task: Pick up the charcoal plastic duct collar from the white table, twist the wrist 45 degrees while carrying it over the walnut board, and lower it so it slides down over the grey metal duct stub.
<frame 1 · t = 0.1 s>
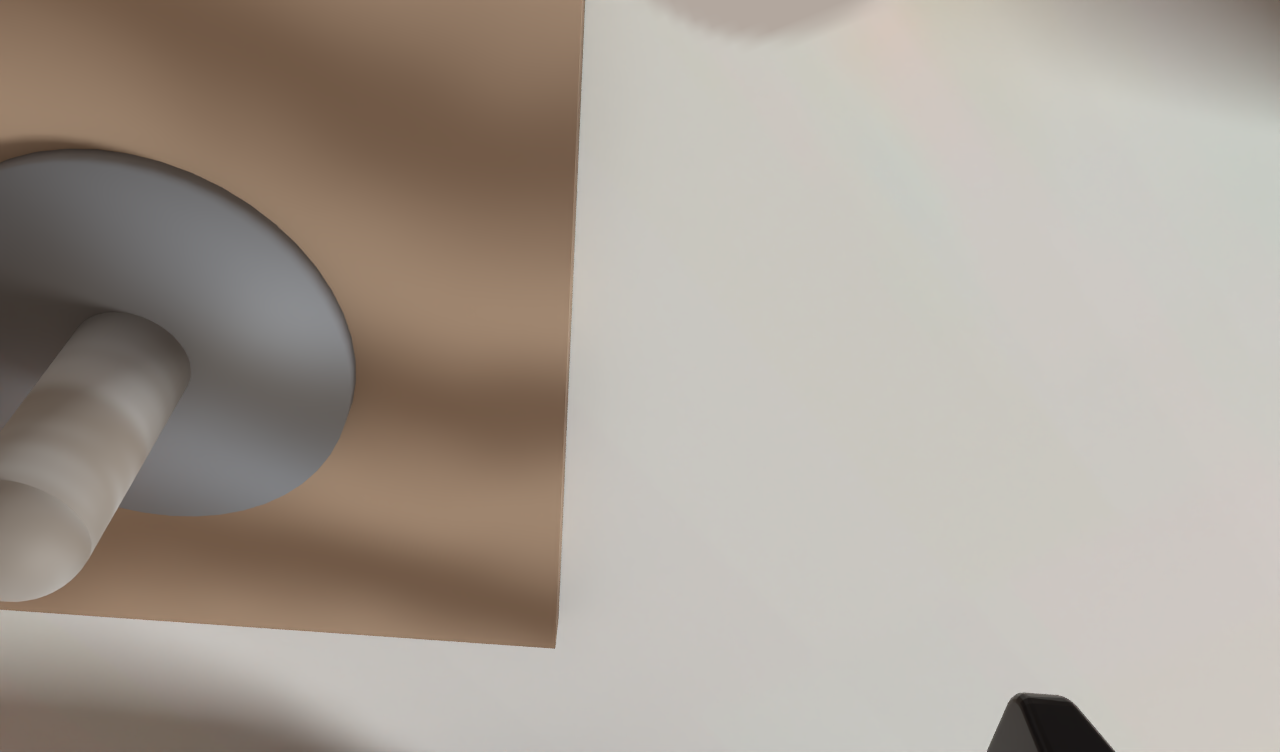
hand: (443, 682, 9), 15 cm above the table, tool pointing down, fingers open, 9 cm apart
duct base: (160, 316, 25), on the table
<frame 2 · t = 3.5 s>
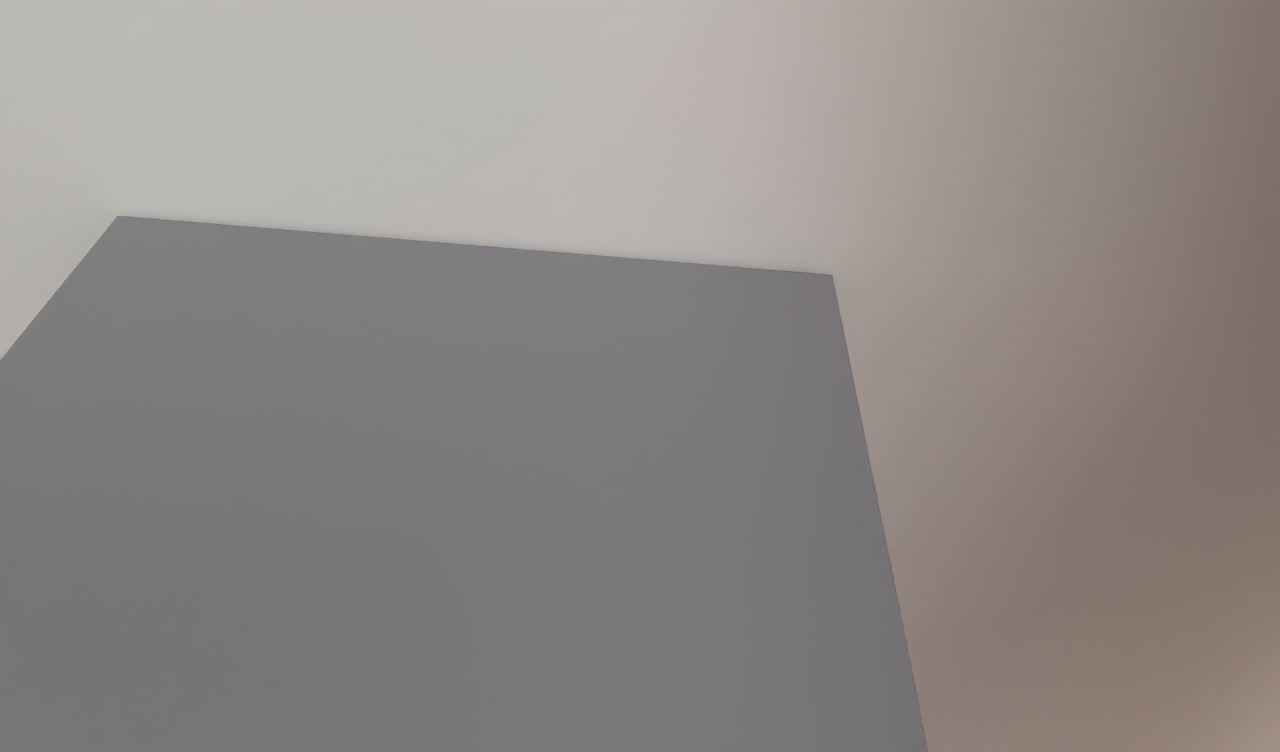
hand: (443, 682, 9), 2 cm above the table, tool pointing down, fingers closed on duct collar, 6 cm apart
duct collar: (480, 505, 11), on the table, touching gripper
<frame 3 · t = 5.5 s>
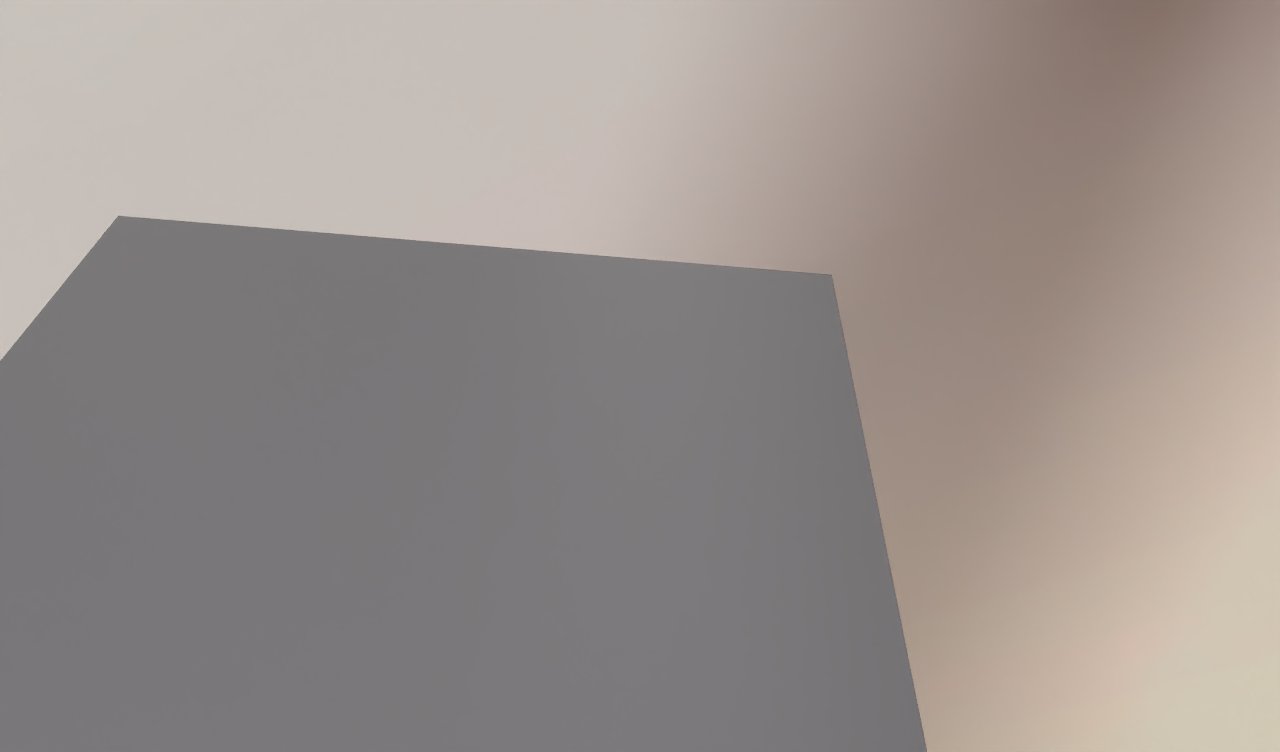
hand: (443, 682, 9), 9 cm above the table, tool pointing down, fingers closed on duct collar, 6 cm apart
duct collar: (480, 504, 11), point 7 cm above the table, touching gripper
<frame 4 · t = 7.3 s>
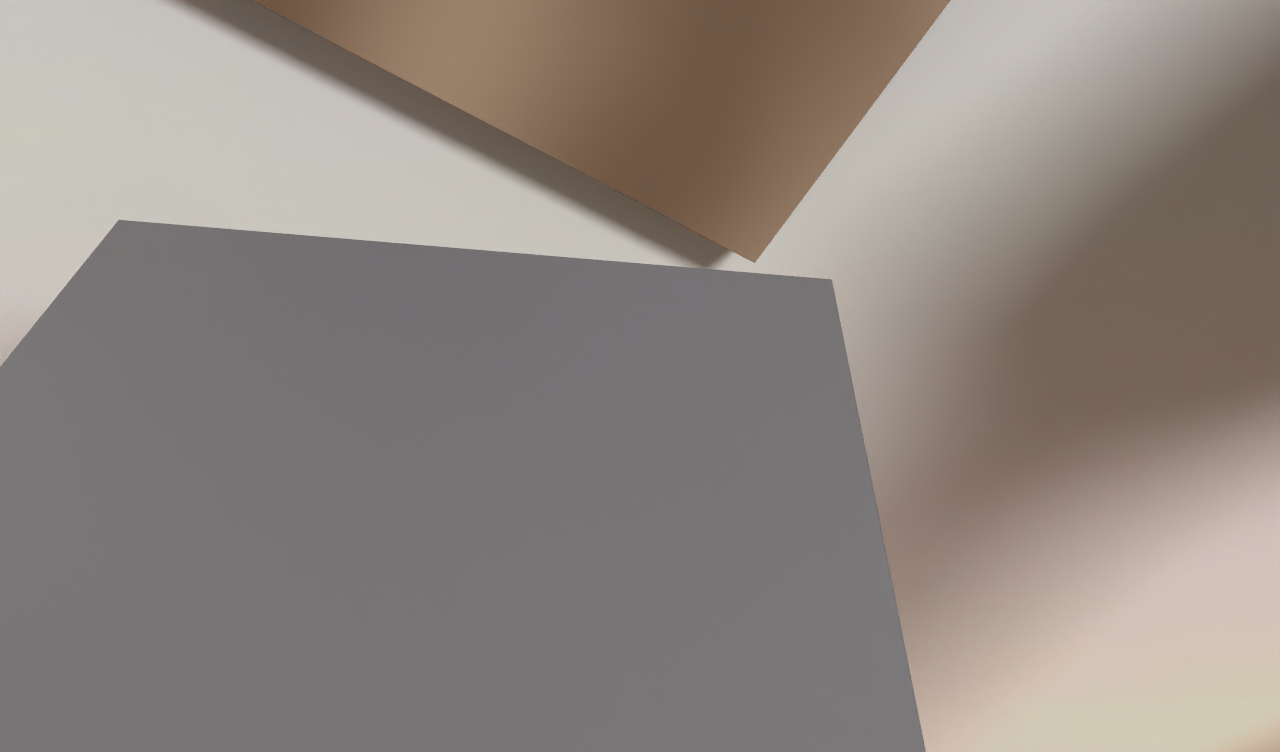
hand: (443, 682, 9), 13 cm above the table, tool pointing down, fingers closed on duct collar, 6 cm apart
duct collar: (480, 508, 11), point 11 cm above the table, touching gripper
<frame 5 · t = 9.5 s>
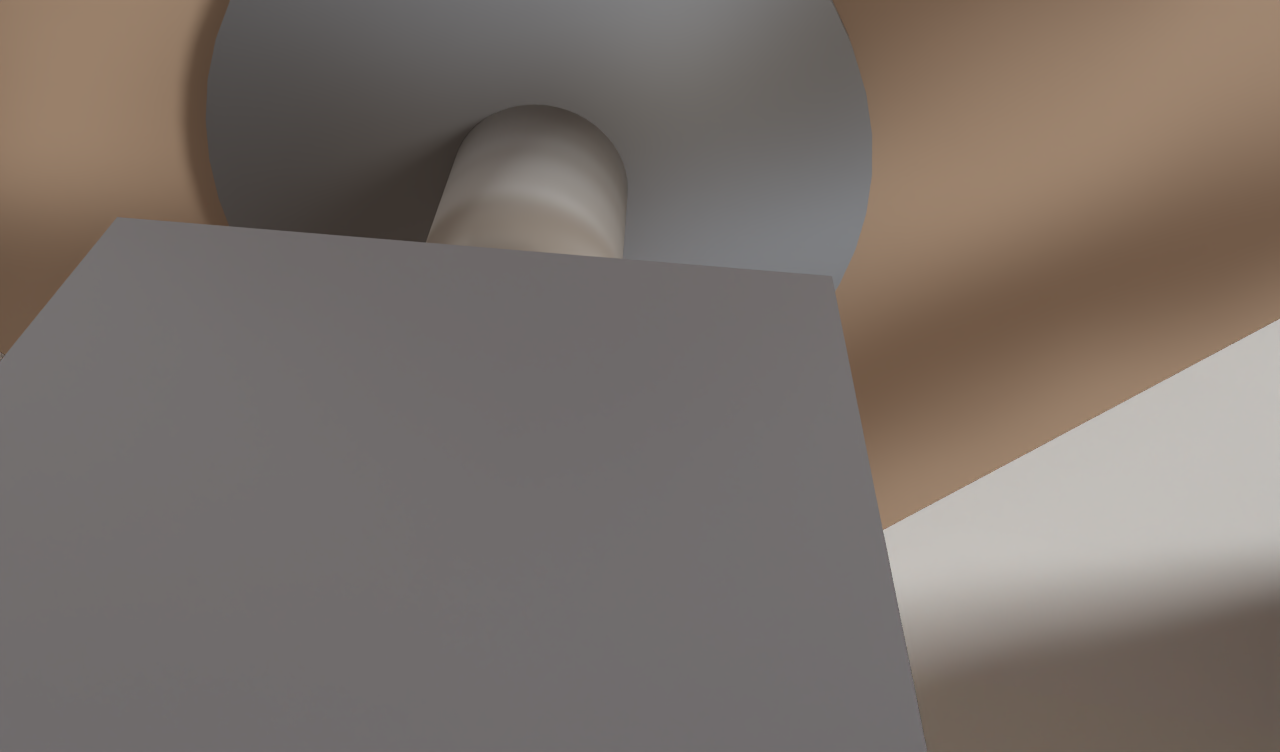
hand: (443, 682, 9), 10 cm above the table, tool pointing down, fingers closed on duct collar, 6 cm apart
duct collar: (479, 506, 11), point 8 cm above the table, touching gripper
duct base: (550, 136, 17), on the table
when the fingers open (4 cm above the table, at t = 11.4 s): duct collar stays where it is, resting on duct base.
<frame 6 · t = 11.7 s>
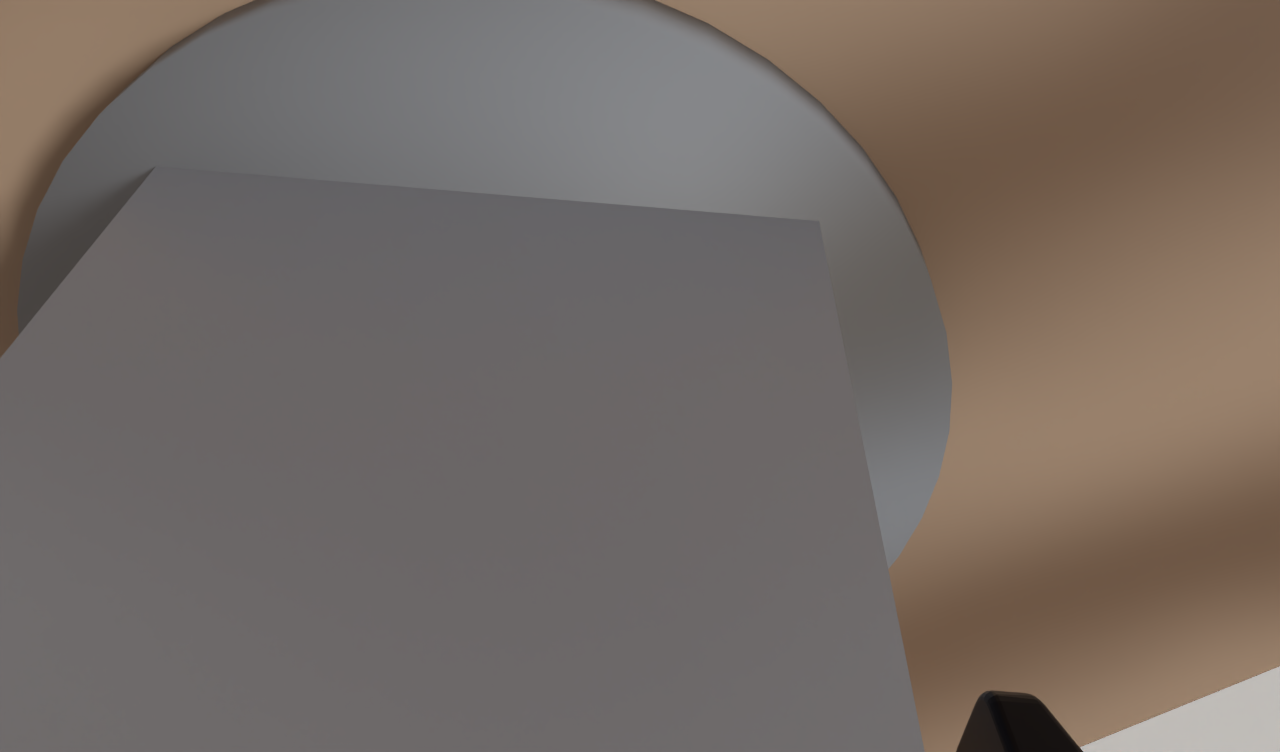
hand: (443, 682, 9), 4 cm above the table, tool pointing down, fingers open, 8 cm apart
duct collar: (490, 444, 11), point 2 cm above the table, touching duct base
duct base: (509, 347, 12), on the table
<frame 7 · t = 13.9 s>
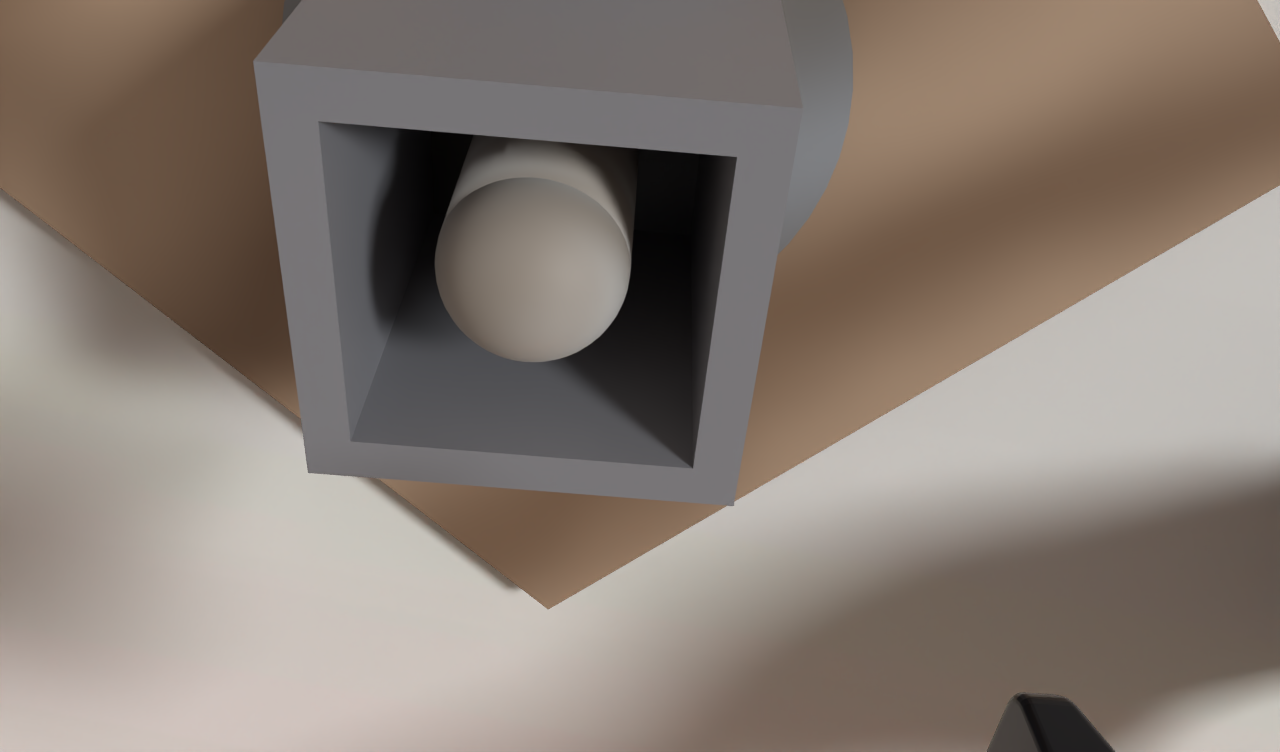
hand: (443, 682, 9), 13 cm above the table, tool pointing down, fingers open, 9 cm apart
duct collar: (567, 102, 18), point 2 cm above the table, touching duct base
duct base: (574, 62, 19), on the table
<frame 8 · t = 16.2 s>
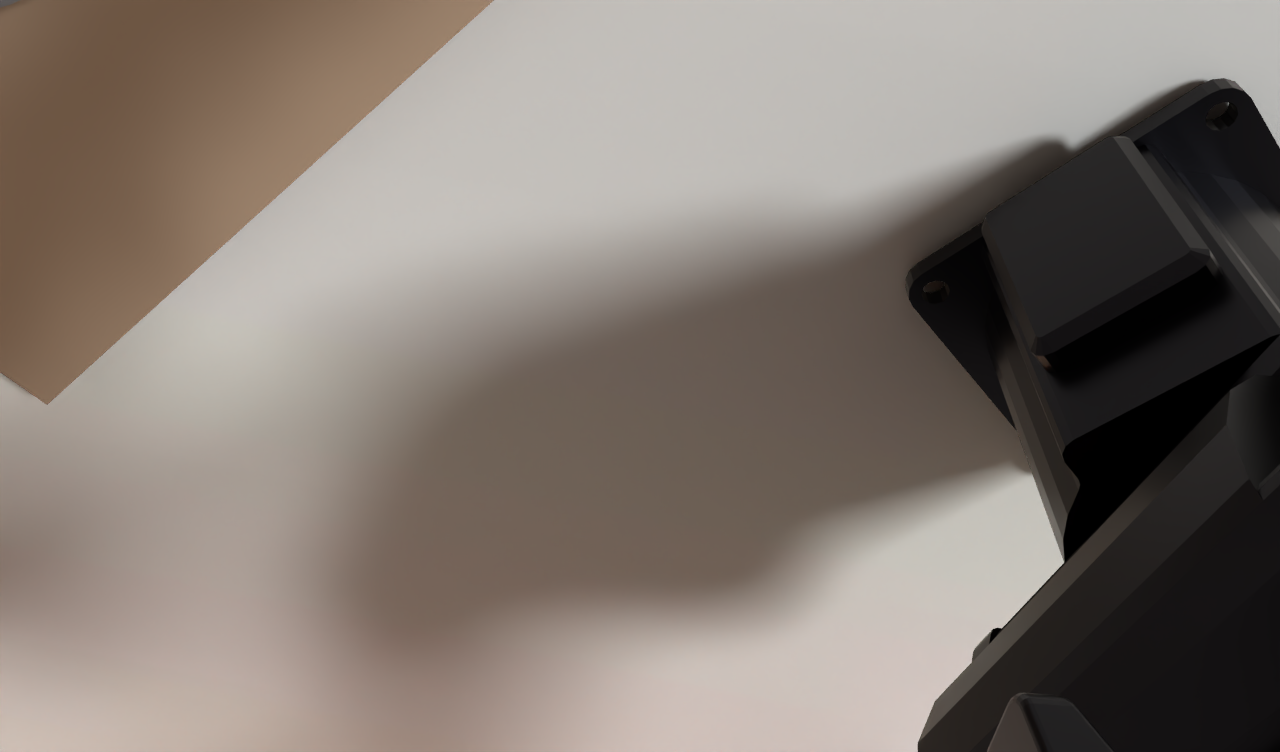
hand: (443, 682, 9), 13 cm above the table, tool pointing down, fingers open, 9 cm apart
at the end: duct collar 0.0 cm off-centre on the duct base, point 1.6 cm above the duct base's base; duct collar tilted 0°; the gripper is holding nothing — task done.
